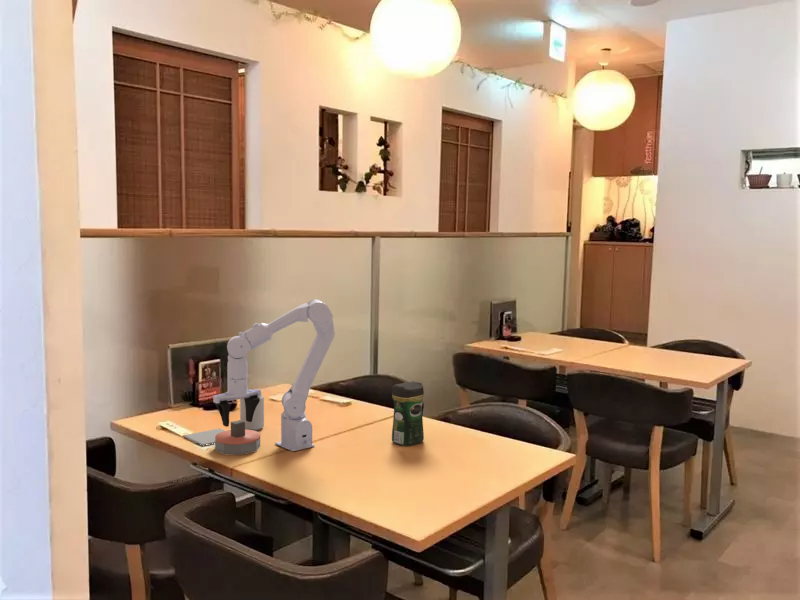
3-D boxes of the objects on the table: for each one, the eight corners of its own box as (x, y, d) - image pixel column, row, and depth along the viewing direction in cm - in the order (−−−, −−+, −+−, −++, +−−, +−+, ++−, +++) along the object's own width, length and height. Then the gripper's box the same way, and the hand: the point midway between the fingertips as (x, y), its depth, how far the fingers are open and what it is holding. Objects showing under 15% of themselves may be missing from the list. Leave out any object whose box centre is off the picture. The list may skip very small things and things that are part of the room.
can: (251, 433, 219) (250, 395, 218) (235, 428, 224) (235, 392, 222) (268, 428, 225) (268, 391, 224) (253, 424, 229) (253, 388, 228)
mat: (238, 438, 213) (238, 436, 213) (202, 446, 205) (202, 444, 205) (219, 430, 222) (219, 428, 222) (183, 437, 213) (183, 435, 213)
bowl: (266, 448, 204) (266, 438, 203) (230, 457, 195) (230, 447, 195) (245, 439, 212) (245, 429, 212) (209, 447, 204) (209, 437, 204)
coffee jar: (410, 436, 219) (411, 378, 217) (427, 442, 213) (428, 382, 211) (386, 442, 212) (387, 382, 210) (404, 448, 206) (405, 386, 205)
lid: (268, 438, 203) (268, 422, 203) (229, 447, 195) (229, 430, 194) (245, 429, 213) (245, 414, 212) (207, 437, 204) (207, 421, 203)
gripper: (251, 372, 210) (251, 416, 211) (207, 378, 200) (208, 424, 201) (264, 376, 205) (264, 421, 206) (220, 382, 195) (220, 430, 196)
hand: (237, 423), depth 203 cm, fingers open, 7 cm apart
